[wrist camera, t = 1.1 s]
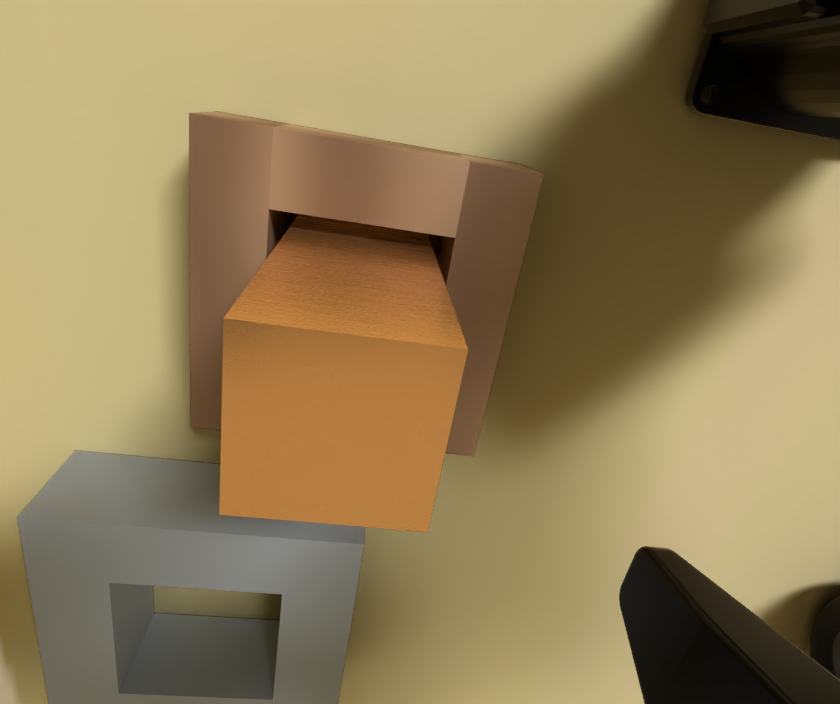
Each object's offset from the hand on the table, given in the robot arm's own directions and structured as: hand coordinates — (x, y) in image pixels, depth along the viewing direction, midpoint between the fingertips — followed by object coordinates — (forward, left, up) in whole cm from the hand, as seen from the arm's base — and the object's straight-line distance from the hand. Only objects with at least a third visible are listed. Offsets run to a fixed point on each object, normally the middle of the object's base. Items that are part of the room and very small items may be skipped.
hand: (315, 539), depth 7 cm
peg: (0, 0, -12) cm, 12 cm away
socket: (+4, +13, -12) cm, 18 cm away
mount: (0, 0, -12) cm, 12 cm away
